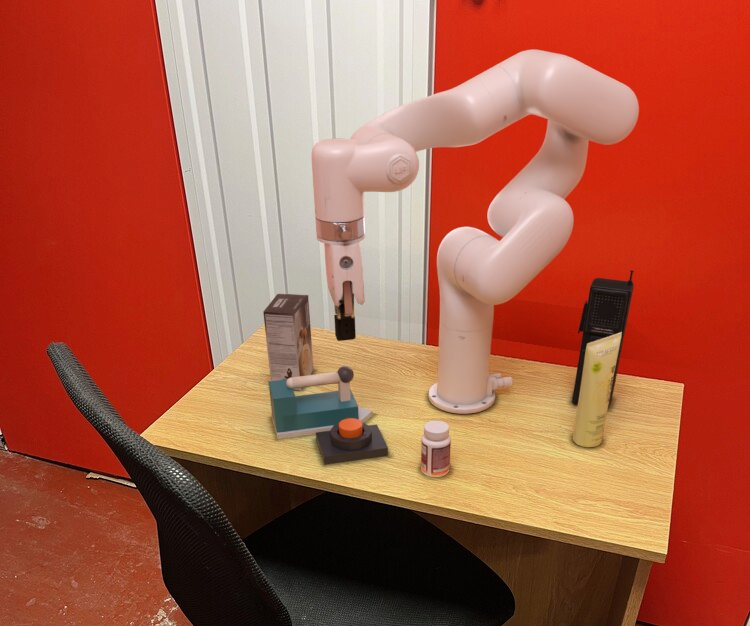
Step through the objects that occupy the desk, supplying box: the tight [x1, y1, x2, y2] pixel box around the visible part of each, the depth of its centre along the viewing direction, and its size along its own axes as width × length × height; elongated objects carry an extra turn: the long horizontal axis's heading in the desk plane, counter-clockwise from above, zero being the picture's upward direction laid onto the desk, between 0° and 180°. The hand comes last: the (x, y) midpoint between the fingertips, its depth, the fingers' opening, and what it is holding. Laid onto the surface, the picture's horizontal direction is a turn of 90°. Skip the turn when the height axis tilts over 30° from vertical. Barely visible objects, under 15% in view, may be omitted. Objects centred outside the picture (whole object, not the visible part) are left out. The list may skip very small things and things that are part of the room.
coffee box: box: [262, 293, 314, 391], centre depth 150 cm, size 9×6×16 cm
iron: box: [268, 365, 374, 440], centre depth 138 cm, size 18×8×10 cm, turn 103°
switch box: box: [315, 422, 389, 466], centre depth 133 cm, size 11×8×4 cm
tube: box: [572, 332, 622, 448], centre depth 129 cm, size 6×5×20 cm
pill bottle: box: [420, 419, 452, 478], centre depth 126 cm, size 5×5×8 cm
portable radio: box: [571, 269, 635, 410], centre depth 139 cm, size 8×6×25 cm
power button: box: [339, 418, 363, 438], centre depth 132 cm, size 4×4×2 cm
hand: (345, 337), depth 130 cm, fingers closed
